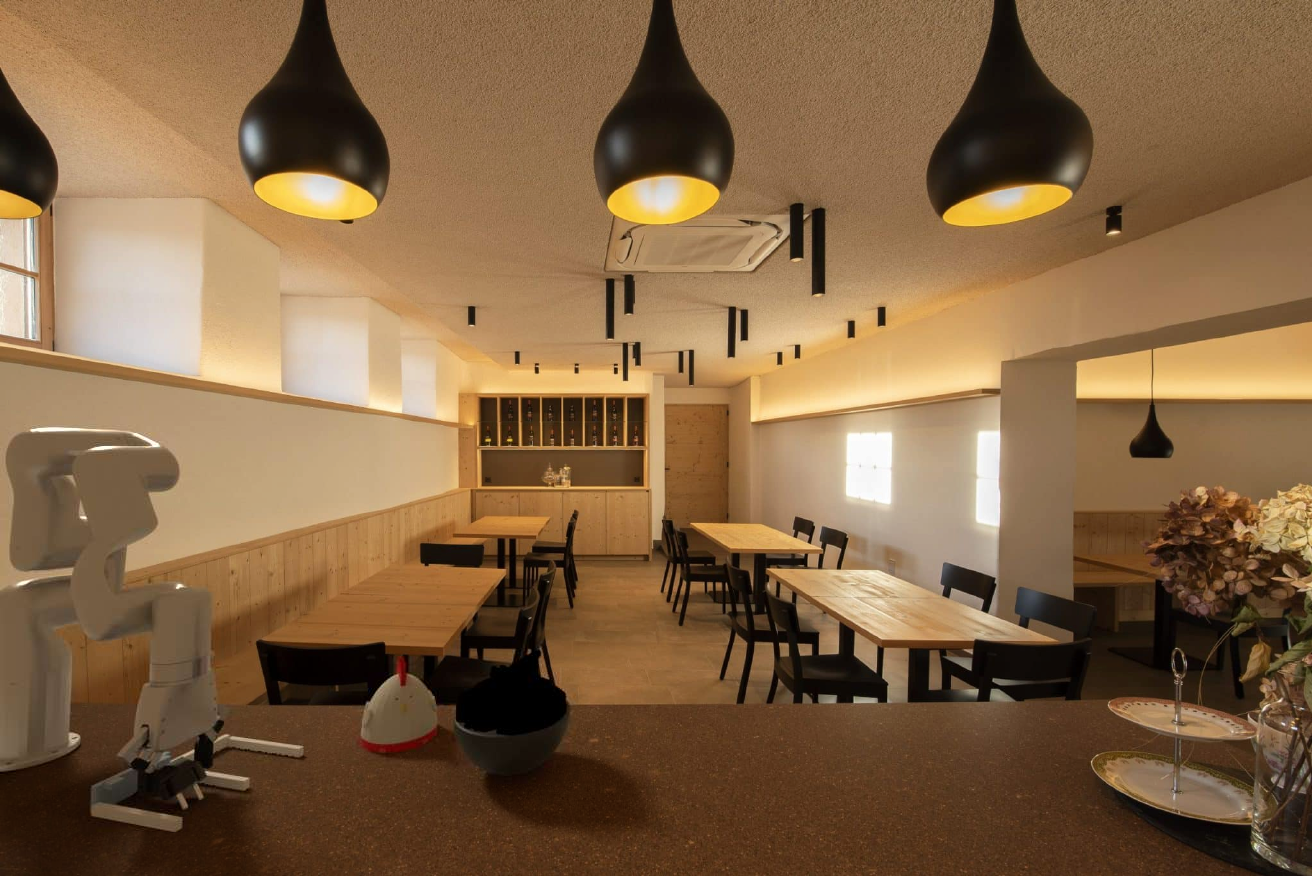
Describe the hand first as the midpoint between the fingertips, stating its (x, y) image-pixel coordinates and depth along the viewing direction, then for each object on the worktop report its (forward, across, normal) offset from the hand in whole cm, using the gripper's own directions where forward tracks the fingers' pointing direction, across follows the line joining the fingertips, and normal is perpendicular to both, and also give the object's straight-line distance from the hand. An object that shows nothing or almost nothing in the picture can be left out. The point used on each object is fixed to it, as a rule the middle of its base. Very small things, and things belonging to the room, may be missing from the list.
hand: (176, 780), depth 94 cm
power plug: (+4, 0, -2) cm, 4 cm away
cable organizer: (+3, -6, 0) cm, 6 cm away
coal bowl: (+3, -22, +46) cm, 52 cm away
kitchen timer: (+4, -28, +20) cm, 34 cm away
